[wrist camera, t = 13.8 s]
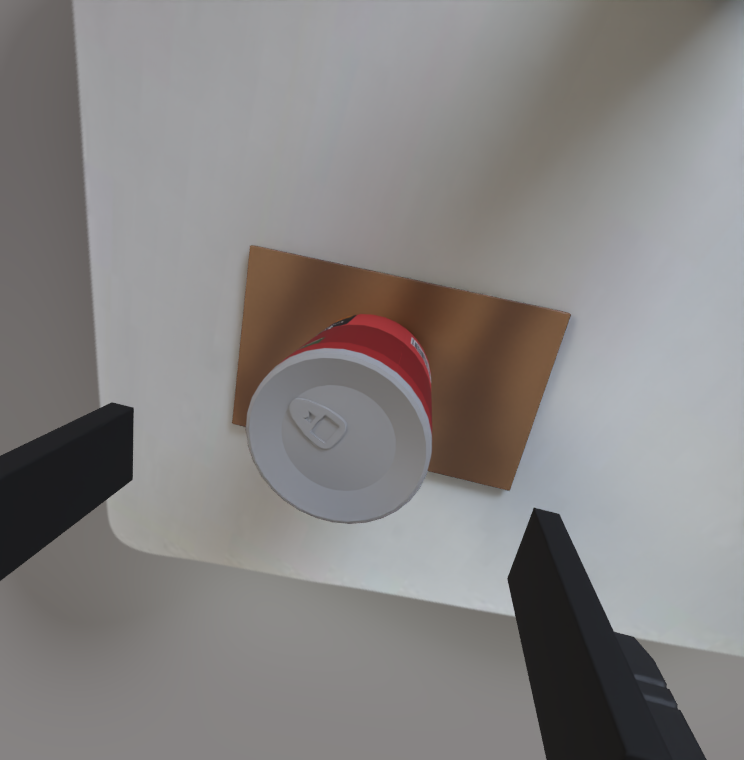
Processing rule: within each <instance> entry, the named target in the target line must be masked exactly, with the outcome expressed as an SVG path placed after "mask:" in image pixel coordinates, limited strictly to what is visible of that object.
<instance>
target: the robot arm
mask: <svg viewBox="0 0 744 760" xmlns="http://www.w3.org/2000/svg"><path fill="white" fill-rule="evenodd" d="M133 413H134V408H132V407H128V406H124V405H120V404H116V403H110V404H108V405H106V406H103V407H101V408H99V409H97V410H95V411H93V412H91V413H89V414H87V415H85V416H83V417H80V418H78V419H76V420H74V421H72V422H70V423H68V424H66V425H64V426H62V427H60V428H57V429H55V430H53V431H51V432H49V433H47V434H45V435H43V436H41V437H39V438H37V439H35V440H33V441H30V442H28V443H26V444H24V445H22V446H20V447H18V448H16V449H14V450H12V451H10V452H7V453H5V454H3V455H1V456H0V581H1V580H2V579H3V578H5V577H6V576H7V575H8V574H10V573H11V572H12V571H14V570H15V569H16V568H18V567H19V566H20V565H22V564H23V563H24V562H25V561H27V560H28V559H30V558H31V557H32V556H33V555H35V554H36V553H37V552H39V551H40V550H41V549H42V548H44V547H45V546H46V545H48V544H49V543H50V542H52V541H53V540H54V539H56V538H57V537H58V536H59V535H61V534H62V533H63V532H65V531H66V530H67V529H69V528H70V527H71V526H73V525H74V524H75V523H77V522H78V521H79V520H80V519H82V518H83V517H84V516H86V515H87V514H88V513H90V512H91V511H92V510H94V509H95V508H96V507H97V506H99V505H100V504H101V503H103V502H104V501H105V500H107V499H108V498H109V497H110V496H112V495H113V494H114V493H116V492H117V491H118V490H120V489H121V488H122V487H124V486H125V485H126V484H127V483H129V482H130V481H131V480H133ZM507 579H508V584H509V588H510V593H511V597H512V602H513V607H514V611H515V616H516V621H517V625H518V630H519V634H520V639H521V644H522V648H523V653H524V657H525V662H526V667H527V671H528V676H529V681H530V685H531V689H532V694H533V699H534V704H535V708H536V713H537V718H538V722H539V727H540V731H541V736H542V741H543V745H544V750H545V754H546V759H547V760H706V758H705V756H704V754H703V752H702V750H701V748H700V746H699V744H698V743H697V741H696V739H695V737H694V735H693V733H692V731H691V729H690V728H689V726H688V724H687V722H686V720H685V718H684V716H683V714H682V712H681V711H680V710H678V708H677V703H676V701H675V699H674V697H673V695H672V693H671V691H670V690H669V689H667V688H666V685H667V684H666V682H665V680H664V678H663V676H662V675H661V673H660V671H659V669H658V667H657V665H656V663H655V661H654V660H653V658H652V657H651V656H650V655H649V654H648V653H647V652H646V650H645V649H644V648H643V647H642V646H641V645H640V644H639V642H638V641H637V640H636V639H635V638H634V637H632V636H628V635H624V634H620V633H617V632H614V631H613V629H612V627H611V625H610V623H609V620H608V618H607V616H606V614H605V612H604V610H603V607H602V605H601V603H600V601H599V599H598V597H597V595H596V592H595V590H594V588H593V586H592V584H591V582H590V579H589V577H588V575H587V573H586V571H585V569H584V566H583V564H582V562H581V560H580V558H579V556H578V553H577V551H576V549H575V547H574V545H573V543H572V541H571V538H570V536H569V534H568V532H567V530H566V528H565V525H564V523H563V521H562V519H561V517H560V515H559V514H557V513H553V512H549V511H545V510H541V509H537V508H534V509H533V512H532V514H531V517H530V520H529V522H528V525H527V528H526V530H525V533H524V536H523V538H522V541H521V544H520V546H519V549H518V552H517V554H516V557H515V559H514V562H513V565H512V567H511V570H510V573H509V575H508V578H507Z"/></svg>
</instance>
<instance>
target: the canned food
mask: <svg viewBox="0 0 744 760" xmlns="http://www.w3.org/2000/svg"><path fill="white" fill-rule="evenodd" d="M246 434H247V442H248V447H249V450H250V453H251V456H252V459H253V462H254V463H255V465H256V467H257V469H258V471H259V473H260V474H261V476H262V477H263V479H264V480H265V481H266V482H267V484H268V485H269V486H270V487H271V489H272V490H273V491H274V492H276V493H277V494H278V495H279V496H280V497H281V498H282V499H283V500H284V501H286V502H287V503H289V504H290V505H292V506H293V507H295V508H296V509H298V510H300V511H302V512H304V513H306V514H308V515H311V516H313V517H315V518H319V519H323V520H326V521H330V522H336V523H347V524H352V523H365V522H370V521H373V520H377V519H381V518H383V517H386V516H388V515H390V514H392V513H394V512H396V511H397V510H399V509H400V508H401V507H402V506H404V505H405V504H406V503H408V502H409V501H410V500H411V498H412V497H413V496H414V495H415V494H416V492H417V491H418V490H419V489H420V487H421V485H422V483H423V481H424V479H425V477H426V474H427V470H428V466H429V462H430V458H431V454H432V398H431V371H430V366H429V361H428V359H427V356H426V354H425V351H424V349H423V348H422V346H421V345H420V343H419V342H418V340H417V339H416V338H415V337H414V336H413V335H412V334H411V333H410V332H409V331H408V330H407V329H406V328H404V327H403V326H401V325H400V324H398V323H397V322H395V321H392V320H390V319H388V318H386V317H381V316H377V315H370V314H359V315H353V316H348V317H345V318H343V319H340V320H338V321H336V322H334V323H333V324H331V325H330V326H328V327H327V328H326V329H324V330H323V331H322V332H320V333H319V334H318V335H316V336H315V337H313V338H312V339H311V340H309V341H308V342H307V343H305V344H304V345H303V346H301V347H300V348H299V349H297V350H296V351H295V352H293V353H292V354H291V355H289V356H288V357H286V358H285V359H284V360H283V361H282V362H281V363H279V364H278V365H277V366H276V367H275V368H274V369H273V370H272V371H271V372H270V373H269V374H268V375H267V376H266V377H265V378H264V379H263V381H262V382H261V383H260V385H259V386H258V388H257V390H256V392H255V393H254V395H253V397H252V399H251V402H250V406H249V409H248V412H247V422H246Z"/></svg>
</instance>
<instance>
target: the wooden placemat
mask: <svg viewBox="0 0 744 760" xmlns="http://www.w3.org/2000/svg"><path fill="white" fill-rule="evenodd" d="M359 314H370V315H377V316H381V317H386V318H388V319H390V320H392V321H395V322H397V323H398V324H400V325H401V326H403V327H404V328H406V329H407V330H408V331H409V332H410V333H411V334H412V335H413V336H414V337H415V338H416V339H417V340H418V342H419V343H420V345H421V346H422V348H423V349H424V351H425V354H426V356H427V359H428V361H429V366H430V371H431V398H432V454H431V458H430V462H429V466H428V470H427V471H430V472H434V473H438V474H443V475H447V476H451V477H455V478H459V479H463V480H467V481H471V482H476V483H480V484H484V485H488V486H492V487H496V488H500V489H504V490H510V488H511V485H512V482H513V480H514V477H515V474H516V471H517V468H518V465H519V462H520V459H521V457H522V454H523V451H524V448H525V445H526V442H527V439H528V436H529V434H530V431H531V428H532V425H533V422H534V419H535V416H536V413H537V411H538V408H539V405H540V402H541V399H542V396H543V393H544V390H545V388H546V385H547V382H548V379H549V376H550V373H551V370H552V367H553V365H554V362H555V359H556V356H557V353H558V350H559V347H560V344H561V342H562V339H563V336H564V333H565V330H566V327H567V324H568V321H569V319H570V316H571V314H570V313H568V312H563V311H559V310H554V309H549V308H545V307H540V306H535V305H531V304H526V303H521V302H517V301H512V300H507V299H502V298H498V297H493V296H488V295H484V294H479V293H474V292H470V291H465V290H460V289H456V288H451V287H446V286H442V285H437V284H432V283H428V282H423V281H418V280H413V279H409V278H404V277H399V276H395V275H390V274H385V273H381V272H376V271H371V270H367V269H362V268H357V267H353V266H348V265H343V264H339V263H334V262H329V261H324V260H320V259H315V258H310V257H306V256H301V255H296V254H292V253H287V252H282V251H278V250H273V249H268V248H264V247H259V246H254V245H251V246H250V252H249V262H248V272H247V282H246V292H245V302H244V312H243V321H242V331H241V341H240V351H239V361H238V371H237V381H236V391H235V400H234V410H233V420H232V423H233V424H236V425H240V426H244V427H246V422H247V412H248V409H249V406H250V402H251V399H252V397H253V395H254V393H255V392H256V390H257V388H258V386H259V385H260V383H261V382H262V381H263V379H264V378H265V377H266V376H267V375H268V374H269V373H270V372H271V371H272V370H273V369H274V368H275V367H276V366H277V365H278V364H279V363H281V362H282V361H283V360H284V359H285V358H286V357H288V356H289V355H291V354H292V353H293V352H295V351H296V350H297V349H299V348H300V347H301V346H303V345H304V344H305V343H307V342H308V341H309V340H311V339H312V338H313V337H315V336H316V335H318V334H319V333H320V332H322V331H323V330H324V329H326V328H327V327H328V326H330V325H331V324H333V323H334V322H336V321H338V320H340V319H343V318H345V317H348V316H353V315H359Z"/></svg>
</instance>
